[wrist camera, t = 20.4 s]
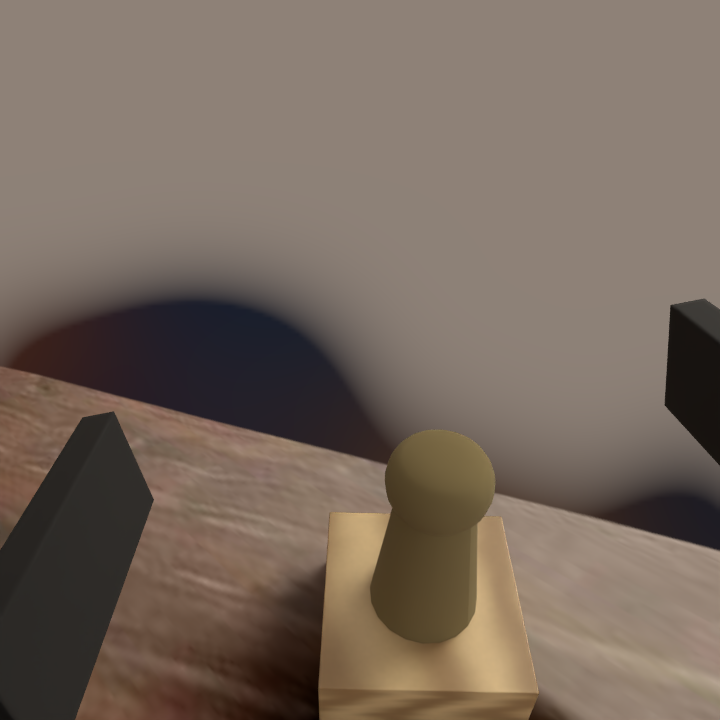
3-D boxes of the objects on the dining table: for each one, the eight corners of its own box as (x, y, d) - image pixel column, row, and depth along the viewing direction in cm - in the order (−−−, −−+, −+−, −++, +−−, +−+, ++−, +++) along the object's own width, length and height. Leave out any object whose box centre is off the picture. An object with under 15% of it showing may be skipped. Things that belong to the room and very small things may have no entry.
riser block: (319, 732, 34) (318, 688, 31) (330, 559, 42) (329, 511, 39) (521, 737, 34) (539, 693, 31) (489, 563, 42) (501, 516, 39)
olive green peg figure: (350, 574, 36) (353, 436, 29) (434, 532, 38) (455, 396, 32) (408, 664, 32) (428, 527, 25) (499, 610, 34) (538, 473, 28)
